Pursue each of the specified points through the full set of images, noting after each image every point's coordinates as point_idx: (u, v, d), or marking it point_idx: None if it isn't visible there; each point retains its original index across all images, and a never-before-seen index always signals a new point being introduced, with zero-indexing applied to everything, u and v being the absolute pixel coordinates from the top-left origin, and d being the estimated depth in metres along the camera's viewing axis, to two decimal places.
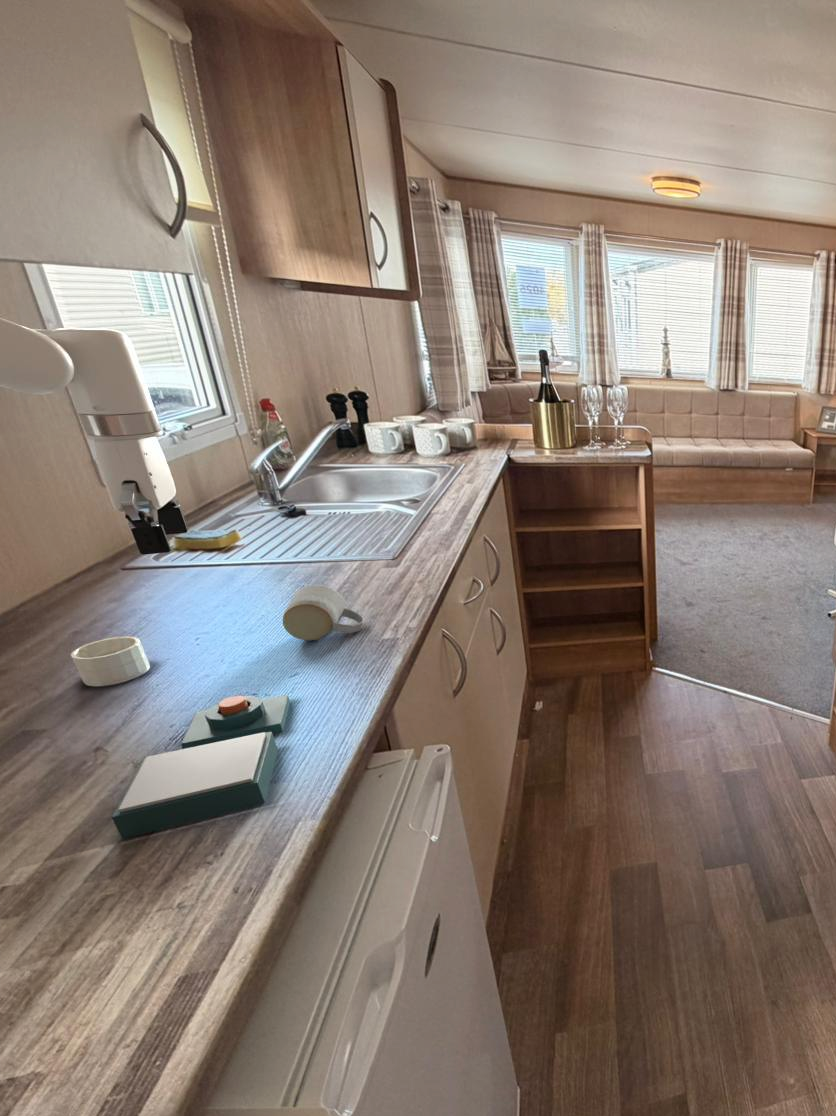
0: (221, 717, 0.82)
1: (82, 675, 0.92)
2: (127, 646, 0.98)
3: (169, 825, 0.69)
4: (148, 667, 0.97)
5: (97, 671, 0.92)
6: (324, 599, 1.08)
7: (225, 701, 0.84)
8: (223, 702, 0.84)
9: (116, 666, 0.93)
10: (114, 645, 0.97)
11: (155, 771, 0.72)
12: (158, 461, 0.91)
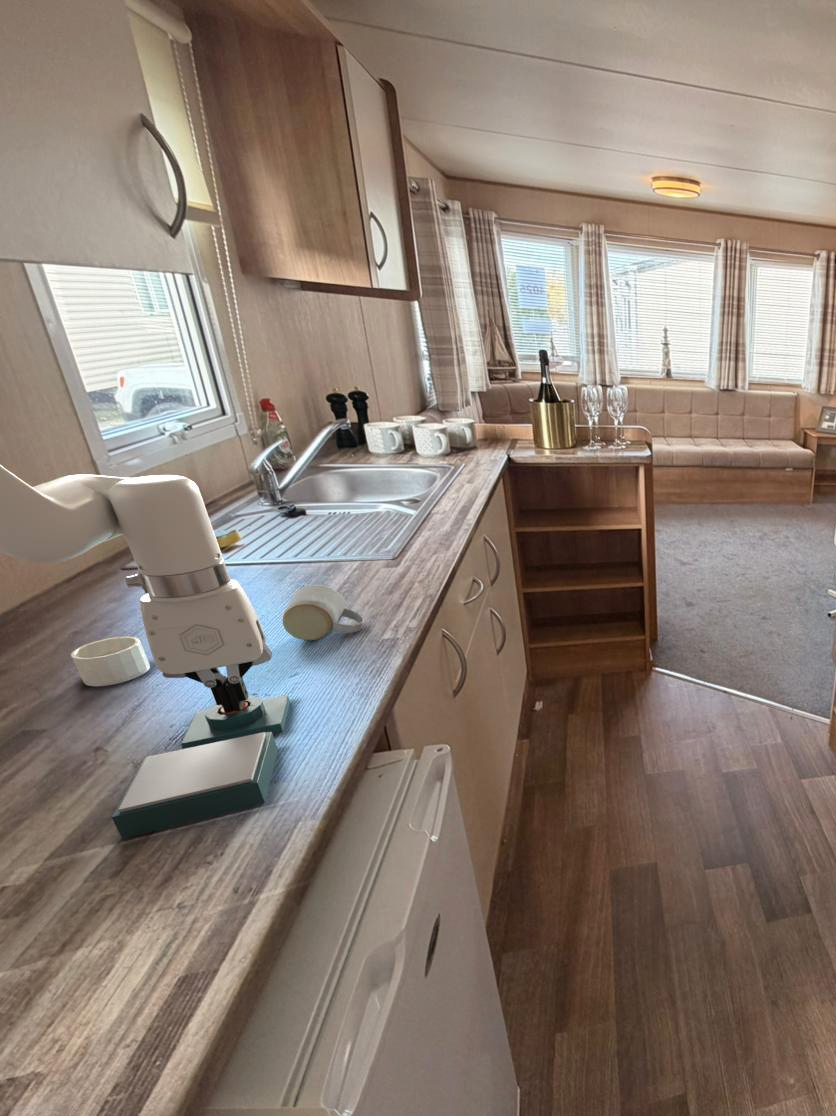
0: (221, 717, 0.82)
1: (82, 675, 0.92)
2: (127, 646, 0.98)
3: (169, 825, 0.69)
4: (148, 667, 0.97)
5: (97, 671, 0.92)
6: (324, 599, 1.08)
7: None
8: None
9: (116, 666, 0.93)
10: (114, 645, 0.97)
11: (155, 771, 0.72)
12: None
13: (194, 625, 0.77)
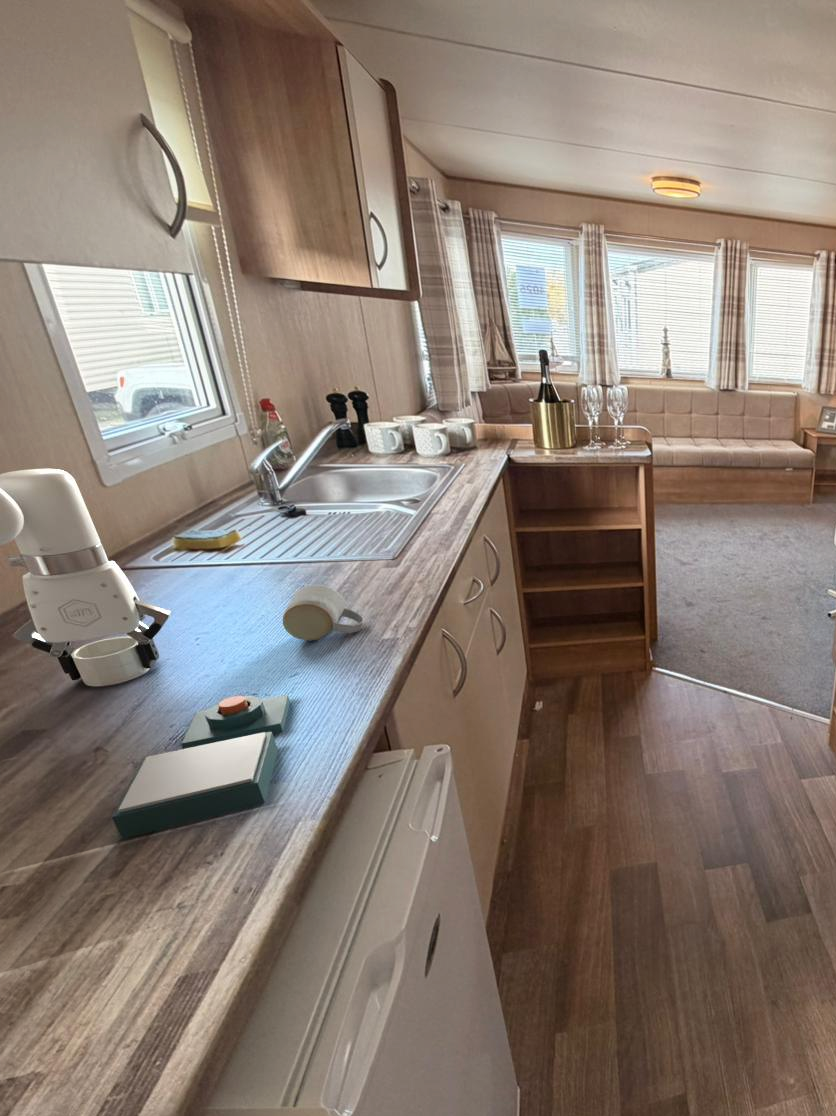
0: (221, 717, 0.82)
1: (82, 675, 0.92)
2: (127, 646, 0.98)
3: (169, 825, 0.69)
4: None
5: (97, 671, 0.92)
6: (324, 599, 1.08)
7: (225, 701, 0.84)
8: (223, 702, 0.84)
9: (116, 666, 0.93)
10: (114, 645, 0.97)
11: (155, 771, 0.72)
12: None
13: (72, 599, 0.88)
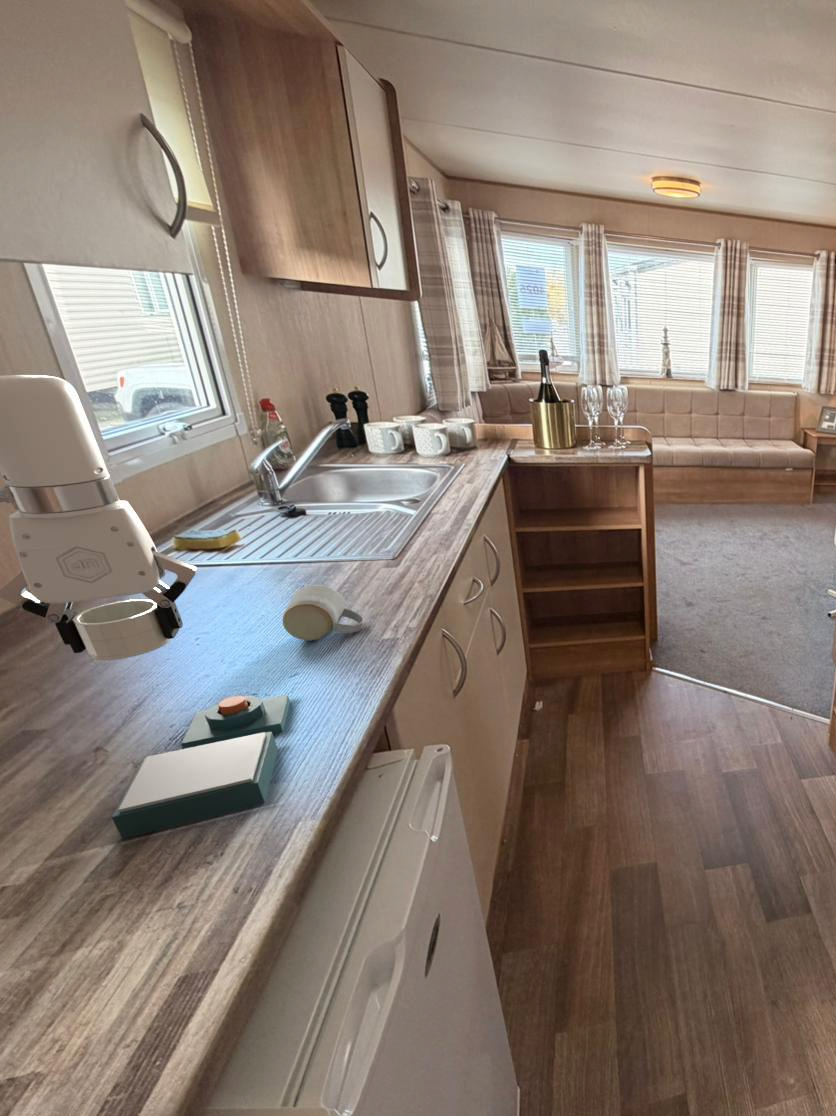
0: (221, 717, 0.82)
1: (87, 645, 0.73)
2: (142, 611, 0.78)
3: (169, 825, 0.69)
4: None
5: (107, 640, 0.72)
6: (324, 599, 1.08)
7: (225, 701, 0.84)
8: (223, 702, 0.84)
9: (131, 634, 0.73)
10: (126, 610, 0.77)
11: (155, 771, 0.72)
12: None
13: (74, 547, 0.69)
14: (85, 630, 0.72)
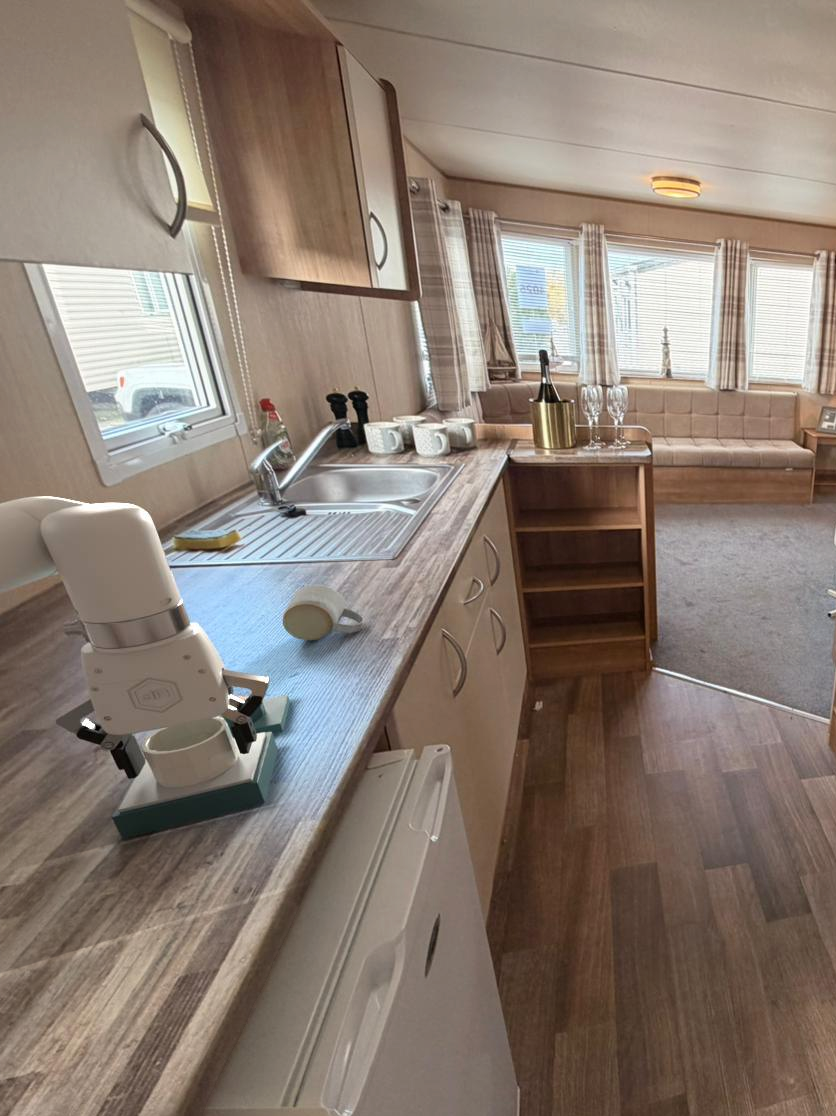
0: (221, 717, 0.82)
1: (155, 773, 0.69)
2: (209, 728, 0.75)
3: (169, 825, 0.69)
4: (237, 756, 0.75)
5: (176, 768, 0.69)
6: (324, 599, 1.08)
7: None
8: None
9: (200, 760, 0.70)
10: (193, 728, 0.74)
11: None
12: None
13: (145, 678, 0.65)
14: (154, 759, 0.68)
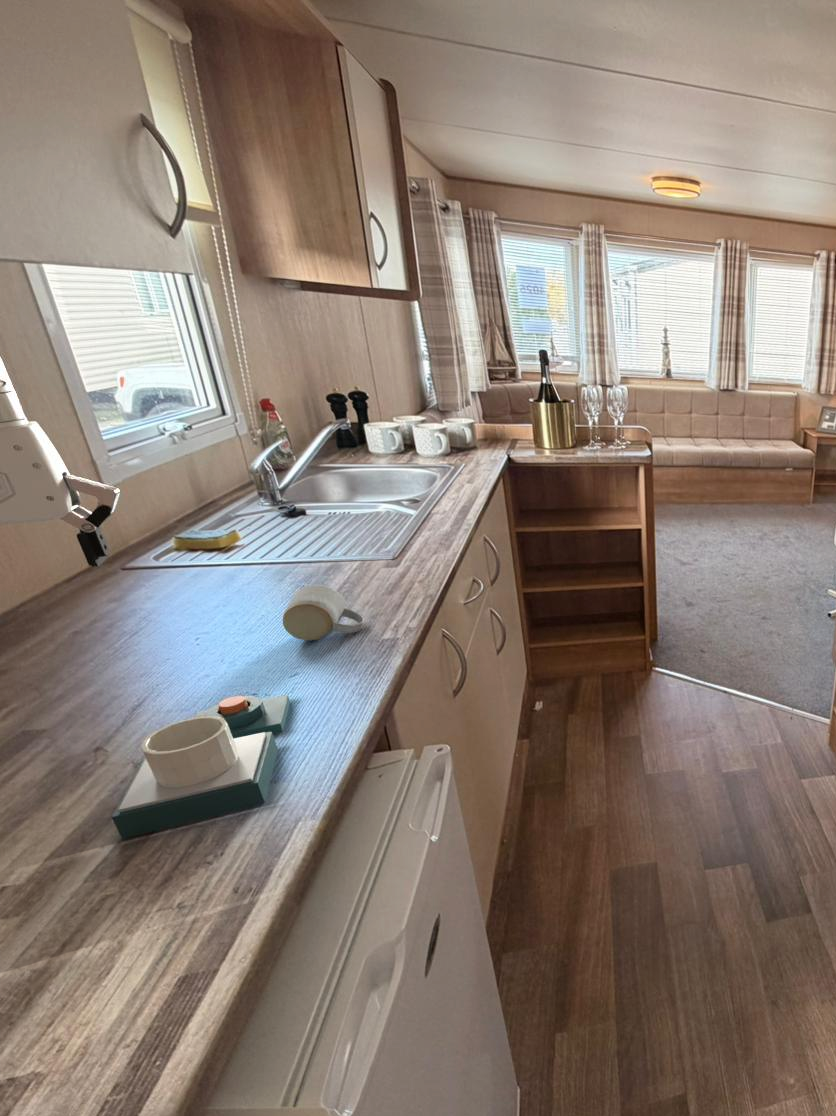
0: (221, 717, 0.82)
1: (155, 773, 0.69)
2: (209, 728, 0.75)
3: (169, 825, 0.69)
4: (237, 756, 0.75)
5: (176, 768, 0.69)
6: (324, 599, 1.08)
7: (225, 701, 0.84)
8: (223, 702, 0.84)
9: (200, 760, 0.70)
10: (193, 728, 0.74)
11: None
12: None
13: None
14: (154, 759, 0.68)
